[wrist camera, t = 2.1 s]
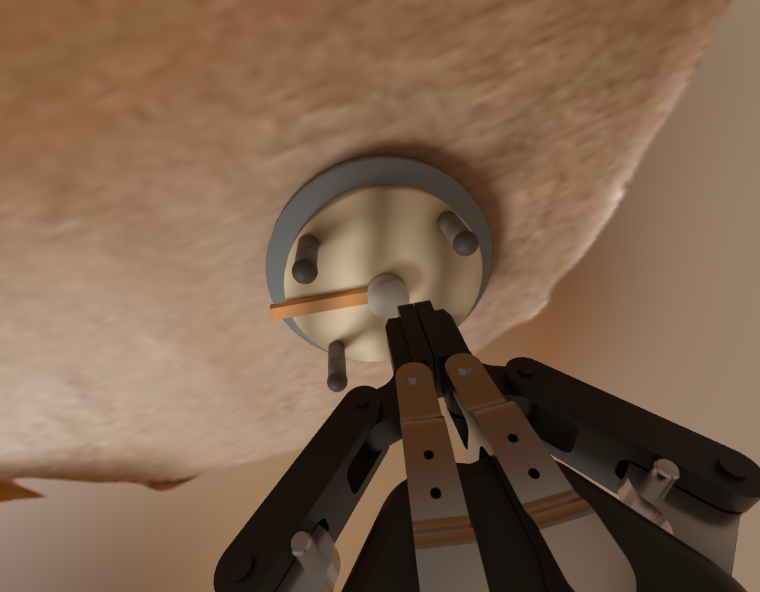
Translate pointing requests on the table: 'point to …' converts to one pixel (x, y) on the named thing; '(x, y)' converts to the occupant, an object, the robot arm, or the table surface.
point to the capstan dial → (376, 270)
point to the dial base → (362, 175)
